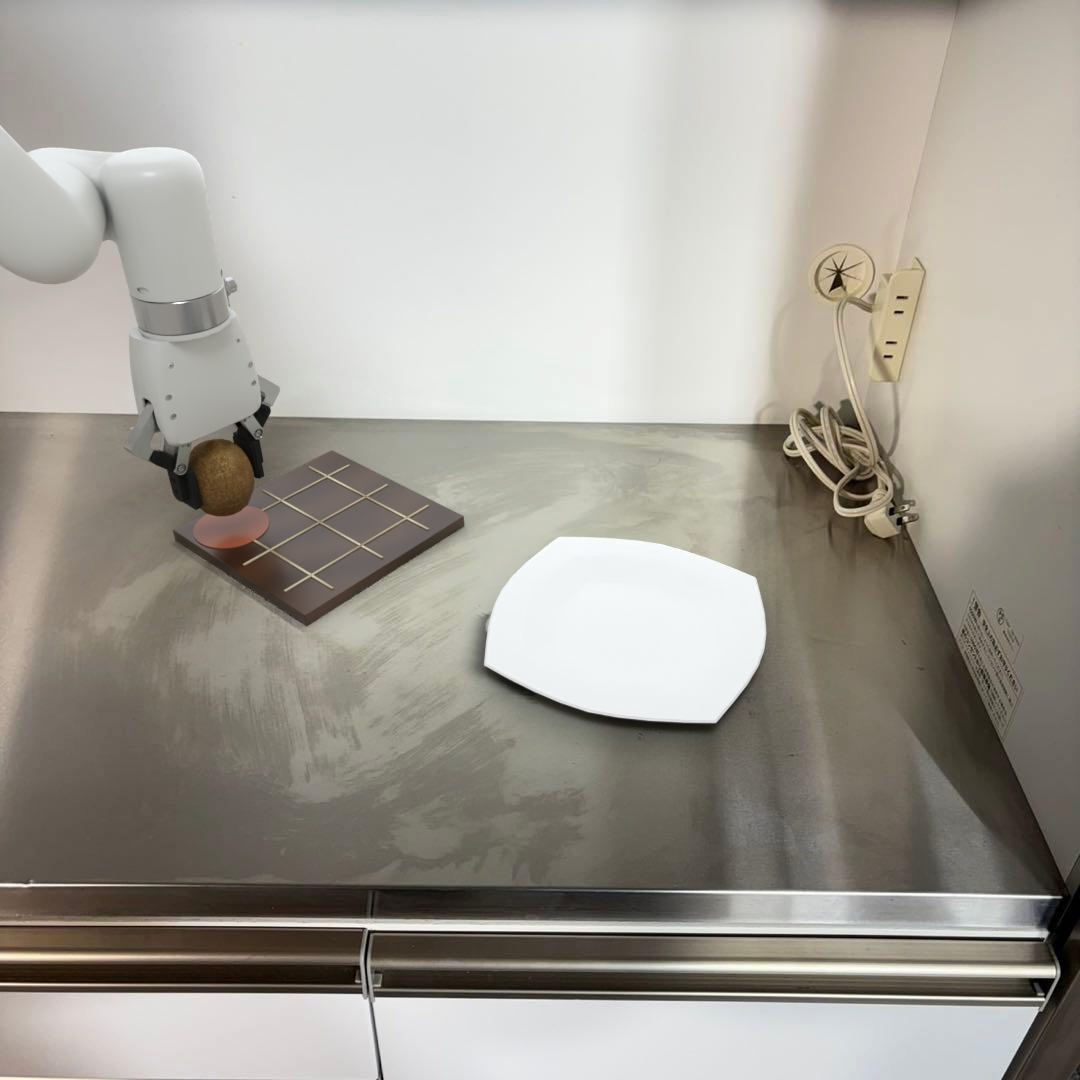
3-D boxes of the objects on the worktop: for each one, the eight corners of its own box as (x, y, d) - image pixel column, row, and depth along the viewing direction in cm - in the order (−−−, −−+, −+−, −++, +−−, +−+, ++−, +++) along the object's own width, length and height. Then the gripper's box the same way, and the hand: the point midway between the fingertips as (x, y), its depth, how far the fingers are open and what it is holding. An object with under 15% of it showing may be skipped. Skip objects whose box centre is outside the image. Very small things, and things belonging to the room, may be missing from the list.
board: (174, 539, 95) (171, 528, 94) (333, 459, 107) (331, 448, 106) (306, 626, 84) (304, 614, 83) (464, 525, 97) (464, 514, 96)
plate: (543, 535, 95) (544, 519, 94) (781, 584, 89) (784, 567, 88) (449, 692, 78) (448, 674, 77) (736, 767, 72) (740, 749, 70)
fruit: (228, 488, 97) (213, 418, 92) (274, 507, 94) (261, 435, 89) (179, 518, 92) (161, 446, 88) (226, 539, 90) (209, 465, 85)
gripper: (240, 269, 89) (271, 440, 99) (61, 327, 78) (117, 513, 88) (292, 289, 85) (319, 465, 95) (111, 353, 74) (163, 544, 84)
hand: (221, 486), depth 92 cm, fingers closed on fruit, 6 cm apart
